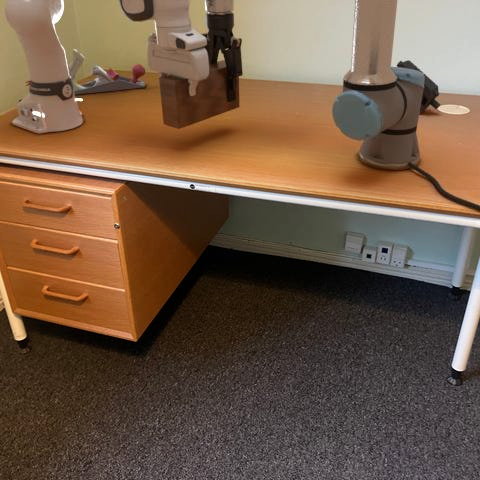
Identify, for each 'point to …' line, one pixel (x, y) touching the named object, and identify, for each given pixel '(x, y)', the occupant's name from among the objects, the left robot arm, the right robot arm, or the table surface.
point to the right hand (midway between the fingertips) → (222, 98)
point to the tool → (429, 88)
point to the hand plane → (104, 78)
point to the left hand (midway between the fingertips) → (179, 92)
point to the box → (196, 97)
